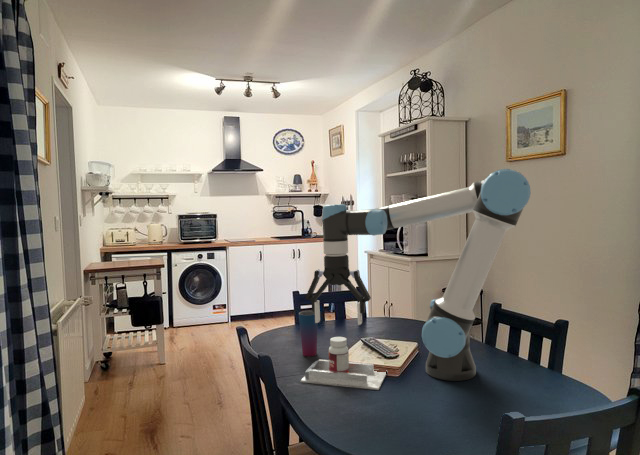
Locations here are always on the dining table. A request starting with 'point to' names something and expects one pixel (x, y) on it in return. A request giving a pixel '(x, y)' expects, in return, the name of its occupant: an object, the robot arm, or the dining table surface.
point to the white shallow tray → (345, 375)
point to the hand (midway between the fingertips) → (338, 322)
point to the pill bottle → (338, 355)
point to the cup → (308, 333)
